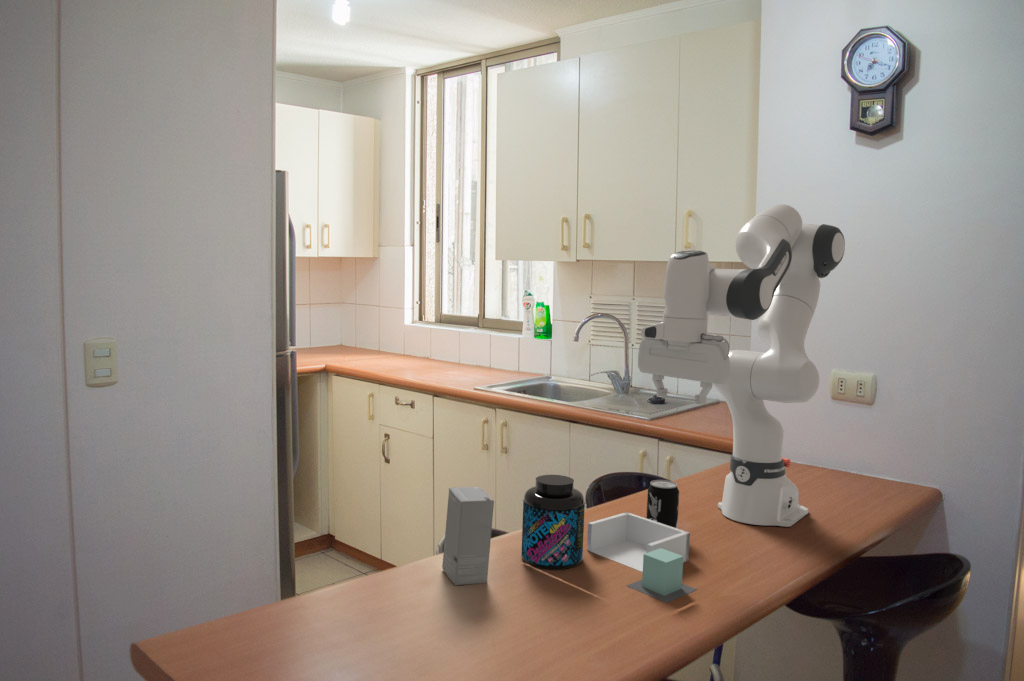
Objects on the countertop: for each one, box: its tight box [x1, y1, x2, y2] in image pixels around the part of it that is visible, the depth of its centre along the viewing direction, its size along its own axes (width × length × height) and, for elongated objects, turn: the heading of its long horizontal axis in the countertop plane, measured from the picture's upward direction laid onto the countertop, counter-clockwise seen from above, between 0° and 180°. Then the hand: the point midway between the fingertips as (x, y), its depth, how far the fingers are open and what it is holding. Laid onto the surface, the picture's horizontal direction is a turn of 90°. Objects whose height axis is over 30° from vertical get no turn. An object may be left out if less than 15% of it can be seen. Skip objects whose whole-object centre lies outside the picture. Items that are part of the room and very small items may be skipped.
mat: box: [626, 579, 698, 604], centre depth 140 cm, size 9×9×1 cm
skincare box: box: [441, 486, 495, 586], centre depth 142 cm, size 8×7×16 cm
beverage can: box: [646, 479, 680, 529], centre depth 167 cm, size 7×7×12 cm
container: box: [521, 474, 586, 571], centre depth 151 cm, size 12×12×16 cm
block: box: [641, 548, 684, 596], centre depth 140 cm, size 5×5×6 cm
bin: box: [586, 511, 691, 573], centre depth 155 cm, size 12×16×6 cm
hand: (680, 400), depth 157 cm, fingers open, 8 cm apart
